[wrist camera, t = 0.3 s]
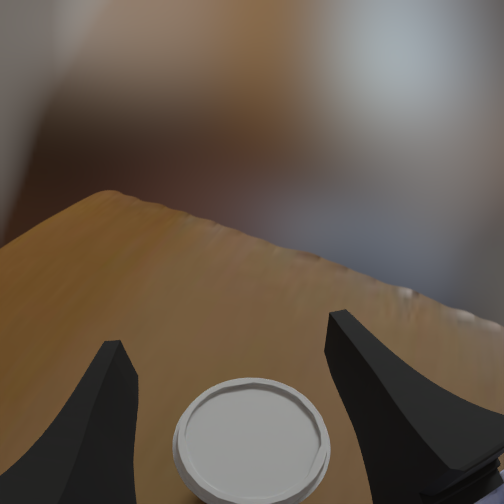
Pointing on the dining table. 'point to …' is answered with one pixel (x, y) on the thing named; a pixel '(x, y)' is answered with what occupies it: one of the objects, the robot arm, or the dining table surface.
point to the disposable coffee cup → (251, 444)
